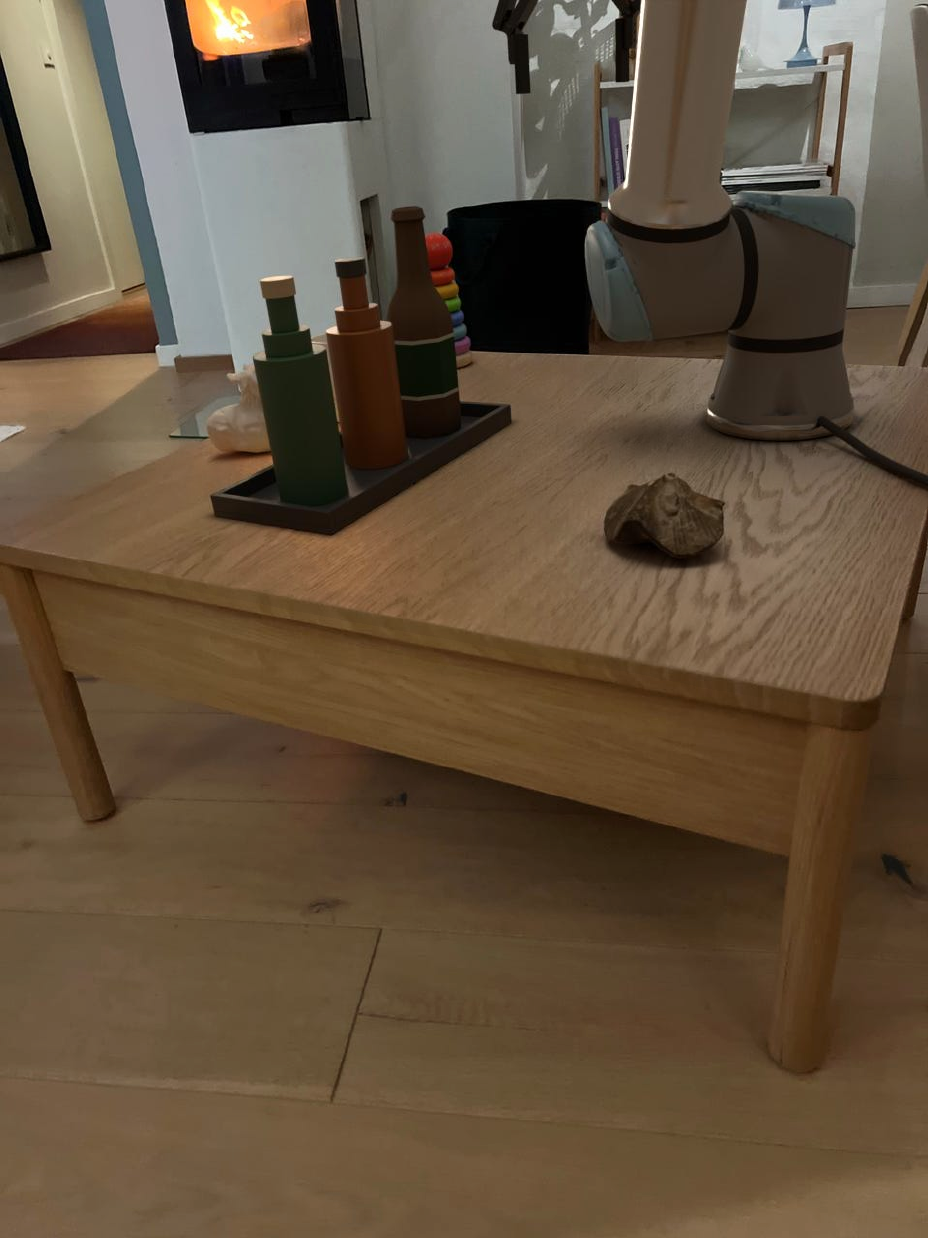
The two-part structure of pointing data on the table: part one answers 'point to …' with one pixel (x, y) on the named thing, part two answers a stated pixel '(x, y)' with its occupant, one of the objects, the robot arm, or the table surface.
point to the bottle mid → (365, 375)
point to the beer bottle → (422, 336)
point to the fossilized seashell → (666, 517)
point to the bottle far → (298, 403)
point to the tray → (359, 478)
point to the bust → (241, 418)
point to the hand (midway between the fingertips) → (571, 88)
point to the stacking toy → (448, 292)
